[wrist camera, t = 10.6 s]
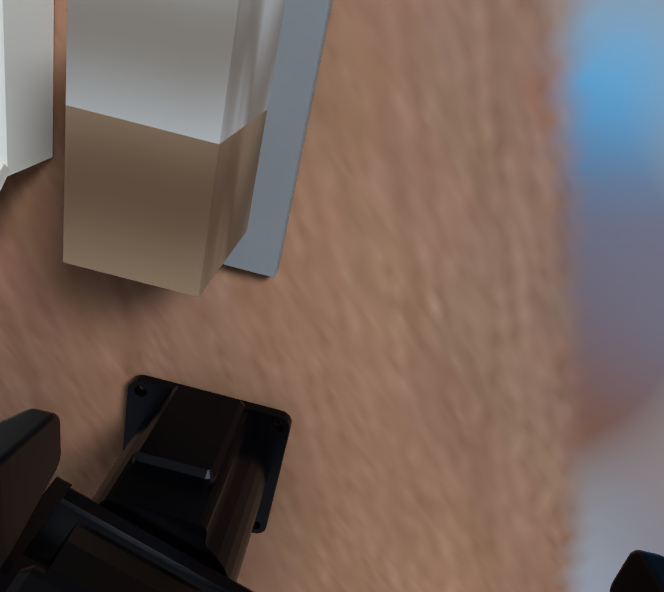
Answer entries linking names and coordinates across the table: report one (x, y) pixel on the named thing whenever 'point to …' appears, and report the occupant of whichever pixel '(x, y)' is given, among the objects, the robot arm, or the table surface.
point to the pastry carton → (25, 84)
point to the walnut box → (164, 133)
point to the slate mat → (283, 135)
